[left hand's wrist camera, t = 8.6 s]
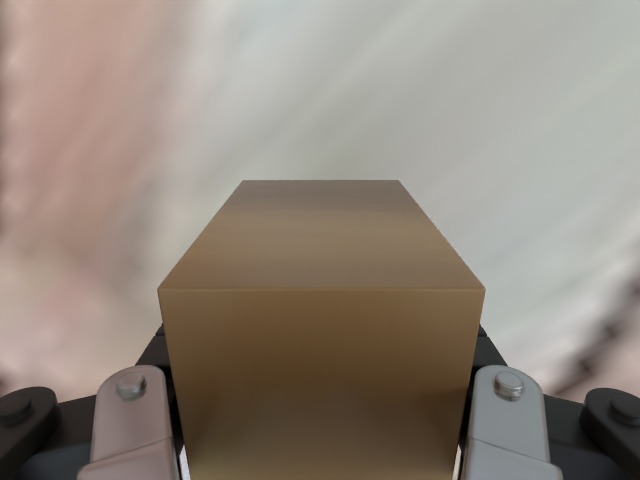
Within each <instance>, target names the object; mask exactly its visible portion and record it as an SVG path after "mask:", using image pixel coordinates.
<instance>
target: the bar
mask: <svg viewBox="0 0 640 480" xmlns="http://www.w3.org/2000/svg"><path fill="white" fill-rule="evenodd" d="M157 292H158V298H159V303H160V309H161V315H162V320H163V326H164V332H165V337H166V343H167V349H168V354H169V360H170V366H171V371H172V377H173V383H174V388H175V394H176V400H177V405H178V411H179V417H180V422H181V428H182V434H183V439H184V445H185V451H186V456H187V462H188V468H189V473H190V479H191V480H452V477H453V471H454V465H455V460H456V454H457V448H458V443H459V437H460V431H461V426H462V420H463V414H464V409H465V403H466V397H467V392H468V386H469V380H470V375H471V369H472V363H473V358H474V352H475V346H476V341H477V335H478V329H479V324H480V318H481V312H482V307H483V301H484V295H485V287H484V286H483V285H482V283H481V282H480V281H479V280H478V279H477V277H476V276H475V275H474V274H473V272H472V271H471V270H470V269H469V267H468V266H467V265H466V264H465V262H464V261H463V260H462V259H461V257H460V256H459V255H458V254H457V252H456V251H455V250H454V249H453V247H452V246H451V245H450V244H449V242H448V241H447V240H446V239H445V238H444V236H443V235H442V234H441V233H440V231H439V230H438V229H437V228H436V226H435V225H434V224H433V223H432V221H431V220H430V219H429V218H428V216H427V215H426V214H425V213H424V211H423V210H422V209H421V208H420V206H419V205H418V204H417V203H416V202H415V200H414V199H413V198H412V197H411V195H410V194H409V193H408V192H407V190H406V189H405V188H404V187H403V185H402V184H401V183H400V182H399V181H398V180H243V181H242V182H241V183H240V185H239V186H238V187H237V188H236V190H235V191H234V192H233V194H232V195H231V196H230V197H229V199H228V200H227V201H226V202H225V204H224V205H223V206H222V207H221V209H220V210H219V211H218V213H217V214H216V215H215V216H214V218H213V219H212V220H211V221H210V223H209V224H208V225H207V226H206V228H205V229H204V230H203V231H202V233H201V234H200V235H199V237H198V238H197V239H196V240H195V242H194V243H193V244H192V245H191V247H190V248H189V249H188V250H187V252H186V253H185V254H184V256H183V257H182V258H181V259H180V261H179V262H178V263H177V264H176V266H175V267H174V268H173V269H172V271H171V272H170V273H169V274H168V276H167V277H166V278H165V280H164V281H163V282H162V283H161V285H160V286H159V287H158V289H157Z"/></svg>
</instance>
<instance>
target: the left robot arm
mask: <svg viewBox="0 0 640 480" xmlns="http://www.w3.org/2000/svg"><path fill="white" fill-rule="evenodd" d="M458 444H459V447H460V449H461V456H460V461H459V467H458V475H457V480H640V398H638V397H636V396H634V395H632V394H629V393H626V392H624V391H620V390H616V389H611V388H596V389H593V390H591V391H589V392H588V393H587V395H586V397H585V401H584V404H582V403H577V402H573V401H569V400H564V399H560V398H555V397H552V396H548V395H545V394H543V391H542V389H541V387H540V386H539V385H538V383H537V382H536V381H535V380H533V379H532V378H531V377H530V376H528V375H527V374H525V373H523V372H521V371H519V370H517V369H514V368H511V367H508V365H507V364H506V362H505V361H504V359H503V358H502V356H501V355H500V353H499V352H498V350H497V349H496V347H495V346H494V344H493V343H492V341H491V340H490V338H489V337H487V334H486V332H485V331H484V329H483V328H482V327H481V325H480V324H479V329H478V335H477V341H476V346H475V352H474V358H473V363H472V369H471V375H470V380H469V386H468V392H467V397H466V403H465V409H464V414H463V420H462V426H461V431H460V437H459V443H458ZM183 445H184V439H183V434H182V428H181V422H180V417H179V411H178V405H177V400H176V394H175V388H174V383H173V377H172V371H171V366H170V360H169V354H168V349H167V343H166V337H165V332H164V326H163V323H162V326H161V327H160V328H159V329H158V331H157V332H156V336H154V337H153V338H152V340H151V342H150V343H149V345H148V346H147V348H146V349H145V351H144V352H143V354H142V355H141V357H140V358H139V360H138V362H137V363H136V365H135V366H133V367H129V368H126V369H123V370H121V371H119V372H117V373H115V374H113V375H112V376H110V377H109V378H108V379H107V380H105V381H104V382H103V383H102V385H101V386H100V387H99V389H98V391H97V394H96V395H92V396H88V397H84V398H80V399H75V400H71V401H66V402H62V403H58V401H57V398H56V395H55V393H54V391H52V390H51V389H49V388H46V387H29V388H24V389H20V390H17V391H14V392H12V393H9V394H7V395H5V396H3V397H1V398H0V480H183V475H182V467H181V461H180V453H181V451H182V448H183Z"/></svg>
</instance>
